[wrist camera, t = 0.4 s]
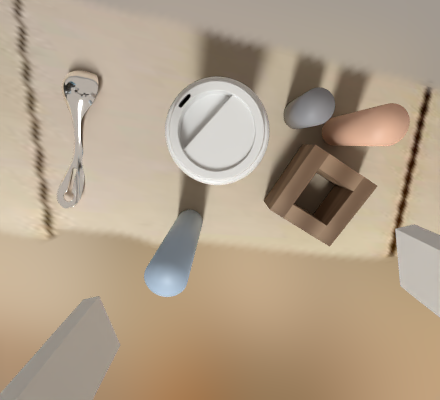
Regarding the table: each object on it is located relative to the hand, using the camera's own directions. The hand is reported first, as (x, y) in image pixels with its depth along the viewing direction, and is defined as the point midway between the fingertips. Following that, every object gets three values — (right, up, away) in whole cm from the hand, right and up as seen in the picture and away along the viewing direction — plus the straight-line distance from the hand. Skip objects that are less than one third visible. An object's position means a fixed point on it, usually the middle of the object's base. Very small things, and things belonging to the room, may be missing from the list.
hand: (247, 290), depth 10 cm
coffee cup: (-1, +13, +24) cm, 27 cm away
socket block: (+12, +5, +25) cm, 29 cm away
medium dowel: (+15, +14, +23) cm, 31 cm away
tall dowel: (-6, +1, +27) cm, 27 cm away
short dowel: (+10, +16, +23) cm, 30 cm away
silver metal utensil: (-22, +13, +25) cm, 35 cm away
